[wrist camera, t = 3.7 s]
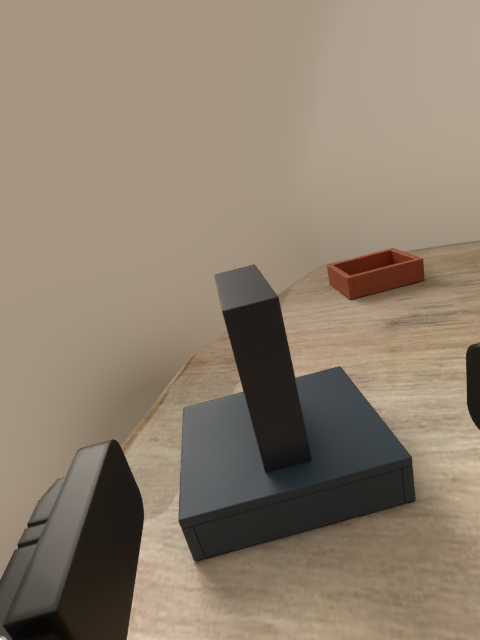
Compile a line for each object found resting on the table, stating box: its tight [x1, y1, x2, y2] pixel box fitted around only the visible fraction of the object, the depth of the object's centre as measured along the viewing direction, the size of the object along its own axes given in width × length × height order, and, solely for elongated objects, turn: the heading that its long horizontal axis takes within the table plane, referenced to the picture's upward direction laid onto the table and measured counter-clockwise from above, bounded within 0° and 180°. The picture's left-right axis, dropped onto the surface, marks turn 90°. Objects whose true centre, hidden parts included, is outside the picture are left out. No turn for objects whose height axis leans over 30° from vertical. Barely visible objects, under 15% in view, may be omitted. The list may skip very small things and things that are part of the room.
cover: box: [179, 265, 415, 561], centre depth 19 cm, size 10×9×10 cm
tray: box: [327, 248, 424, 299], centre depth 44 cm, size 8×7×2 cm
